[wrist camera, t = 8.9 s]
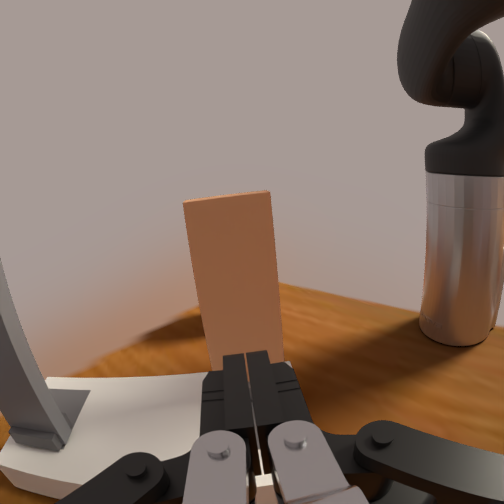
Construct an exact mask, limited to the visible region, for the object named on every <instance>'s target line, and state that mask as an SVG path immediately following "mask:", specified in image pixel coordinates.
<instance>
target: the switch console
mask: <svg viewBox="0 0 504 504" xmlns="http://www.w3.org/2000/svg"><path fill="white" fill-rule="evenodd" d="M285 363H287V364H288V365H289V366H290V367H291V368H292V366H291V363H290V361H286V362H285ZM207 374H208V372H203V373H192V374H180V375H166V376H149V377H125V378H62V377H47V379H46V380H45V382H46V384H47V386H48V388H49V390H50V392H51V394H52V396H53V398H54V400H55V402H56V404H57V406H58V408H59V409H60V411H61V412H62V413H66V415H67V417H68V419H69V420H70V422H71V424H72V425H71V427H70V429H71V430H72V432H71V434H70V437H69V439H68V441H67V444H66V445H64V444H63V445H62V447H61V449H60V451H54V450H48V449H42V448H37V447H32V446H27V445H23V444H18V443H16V442H15V441H14V439H13V438H12V437H11V435H10V437H9V438H8V440H7V442H6V443H5V445H4V447H3V449H2V450H1V452H0V470H1V471H2V472H3V474H4V475H5V476H6V477H7V478H8V479H9V480H10V482H11V483H12V484H13V485H14V486H15V487H18V488H21V489H24V490H27V491H30V492H34V493H37V494H41V495H45V496H49V497H53V498H57V499H62V498H64V497H65V496H67V495H68V494H70V493H71V492H73V491H74V490H76V489H77V488H79V487H80V486H82V485H83V484H85V483H86V482H88V481H89V480H90V479H92V478H93V477H95V476H96V475H98V474H99V473H100V472H102V471H103V470H105V469H106V468H107V467H109V466H110V465H112V464H113V463H114V462H116V461H117V460H118V459H120V458H121V457H123V456H125V455H127V454H130V453H134V452H146V453H150V454H152V455H154V456H156V457H157V458H158V459H159V460H160V461H164V460H168V459H172V458H175V457H178V456H181V455H183V454H186V453H187V452H189V451H190V450H191V448H192V445H193V443H194V442H195V441H196V440H197V439H198V438H199V435H200V415H201V403H202V402H201V397H202V381H203V380H204V378H205V377H206V375H207ZM251 406H252V413H253V420H254V426H255V433H256V440H257V446H258V453H259V459H260V466H261V472H262V475H259V476H255V479H256V486H257V493H256V501H257V504H277V502H276V498H275V494H274V487H273V481H272V476H271V474H265V475H264V470H263V464H262V458H261V452H260V446H259V439H258V433H257V427H256V420H255V414H254V407H253V400H251Z"/></svg>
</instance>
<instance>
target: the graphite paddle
mask: <svg viewBox="0 0 504 504" xmlns="http://www.w3.org/2000/svg"><path fill="white" fill-rule="evenodd" d="M0 411H1V412H2V414H3V416H4V417H5V419H6V420H7V422H8V423H9V425H10V427H11V428H10V430H9V434H10V435H11V437H12V438H13V439H14V441H15V442H16V443H18V444H23V445H27V446H32V447H37V448H42V449H48V450H54V451H60V449H61V447H62V445H63V444H64V445H66V444H67V441H68V439H69V437H70V434H71V432H72V430H71V429H70V427H71V425H72V424H71V422H70V420H69V419H68V417H67V415H66V413H62V412H61V411H60V409H59V408H58V406H57V404H56V402H55V400H54V398H53V396H52V394H51V392H50V390H49V388H48V386H47V384H46V382H45V380H44V378H43V376H42V374H41V372H40V370H39V368H38V365H37V363H36V361H35V359H34V356H33V354H32V352H31V350H30V347H29V344H28V342H27V339H26V337H25V335H24V332H23V329H22V327H21V324H20V321H19V319H18V316H17V313H16V310H15V307H14V304H13V301H12V298H11V294H10V292H9V288H8V284H7V281H6V278H5V274H4V270H3V267H2V263H1V259H0Z"/></svg>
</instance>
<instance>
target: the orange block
mask: <svg viewBox="0 0 504 504" xmlns="http://www.w3.org/2000/svg"><path fill="white" fill-rule="evenodd" d="M183 207H184V215H185V222H186V228H187V235H188V241H189V247H190V254H191V261H192V267H193V272H194V279H195V283H196V289H197V296H198V301H199V307H200V312H201V317H202V322H203V328H204V333H205V338H206V343H207V348H208V352H209V357H210V362H211V367H212V371H218V370H223V355H232V354H240V353H244V358H245V365H246V372H247V379H248V385H249V392H250V399H251V400H252V394H251V387H250V380H249V373H248V366H247V358H246V353H247V352H255V351H262V350H267V352H268V356H269V360H270V364H272V363H278V362H284V350H283V336H282V323H281V310H280V297H279V285H278V273H277V262H276V251H275V239H274V228H273V217H272V207H271V196H270V192H269V191H267V190H264V191H255V192H247V193H238V194H229V195H221V196H213V197H205V198H198V199H190V200H185V201H184V202H183Z"/></svg>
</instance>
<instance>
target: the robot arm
mask: <svg viewBox="0 0 504 504" xmlns="http://www.w3.org/2000/svg"><path fill="white" fill-rule="evenodd" d="M502 17H504V0H412V2H411V5H410V8H409V10H408V13H407V16H406V19H405V21H404V24H403V27H402V30H401V34H400V39H399V45H398V52H397V65H398V74H399V78H400V81H401V84H402V86H403V88H404V90H405V91H406V92H407V94H408V95H409V96H410V97H411V98H412V99H414V100H415V101H417V102H419V103H423V104H426V105H432V106H439V107H453V108H465V122H464V125H463V127H462V128H461V129H460V130H459V131H458V132H456V133H455V134H453V135H451V136H449V137H447V138H444V139H441V140H438V141H436V142H433V143H431V144H429V145H428V146H427V147H426V149H425V169H426V192H427V193H426V194H427V230H426V256H425V270H424V284H423V293H422V302H421V311H420V319H419V326H420V328H421V330H422V331H423V333H424V334H425V335H427V336H428V337H429V338H431V339H433V340H435V341H437V342H440V343H443V344H447V345H452V346H469V345H473V344H477V343H479V342H481V341H483V340H484V339H485V338H486V337H487V336H488V334H489V331H490V329H491V328H493V327H495V324H496V319H497V315H498V310H499V305H500V300H501V295H502V290H503V283H504V75H503V70H502V66H501V62H500V58H499V55H498V53H497V50H496V48H495V46H494V44H493V42H492V41H491V39H490V38H489V37H488V36H487V35H486V34H485V33H483V32H482V31H479V30H477V29H479V28H481V27H483V26H484V25H486V24H488V23H490V22H493V21H495V20H497V19H500V18H502ZM246 358H247V366H248V373H249V380H250V387H251V394H252V400H253V407H254V414H255V420H256V427H257V433H258V439H259V446H260V452H261V458H262V464H263V470H264V475H265V474H271V476H272V481H273V487H274V494H275V498H276V502H277V504H504V455H502V454H498V453H494V452H490V451H486V450H482V449H478V448H474V447H471V446H467V445H463V444H460V443H457V442H453V441H450V440H446V439H443V438H440V437H437V436H434V435H431V434H427V433H424V432H421V431H418V430H415V429H412V428H410V427H407V426H404V425H401V424H398V423H395V422H392V421H386V420H381V421H374V422H371V423H369V424H367V425H365V426H363V427H362V428H361V429H360V430H359V432H358V433H357V435H335V434H330V433H327V432H324V431H322V430H321V429H319V428H318V427H317V426H316V425H315V424H314V423H313V421H312V419H311V416H310V413H309V411H308V408H307V405H306V402H305V400H304V397H303V394H302V391H301V390H300V386H299V383H298V381H297V377H296V375H295V372H294V369H293V368H291V367H290V366H289V365H288V364H287V363H285V362H278V363H272V364H270V360H269V356H268V352H267V350H262V351H255V352H247V353H246ZM201 402H202V403H201V415H200V435H199V438H198V439H197V440H196V441H195V442H194V443H193V445H192V448H191V450H190V451H189V452H187V453H186V454H183V455H181V456H178V457H175V458H172V459H168V460H164V461H160V460H159V459H158V458H157V457H156V456H154V455H152V454H150V453H146V452H134V453H130V454H127V455H125V456H123V457H121V458H120V459H118V460H117V461H116V462H114V463H113V464H112V465H110V466H109V467H107V468H106V469H105V470H103V471H102V472H100V473H99V474H98V475H96V476H95V477H93V478H92V479H90V480H89V481H88V482H86V483H85V484H83V485H82V486H80V487H79V488H77V489H76V490H74V491H73V492H71V493H70V494H68V495H67V496H65V497H64V498H62V499H61V500H59V501H58V502H56V503H55V504H257V501H256V493H257V486H256V479H255V476H259V475H262V472H261V466H260V459H259V453H258V446H257V440H256V433H255V426H254V420H253V413H252V406H251V399H250V392H249V385H248V379H247V372H246V365H245V358H244V353H240V354H232V355H223V370H218V371H209V372H208V374H207V375H206V377H205V378H204V380H203V381H202V397H201Z"/></svg>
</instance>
